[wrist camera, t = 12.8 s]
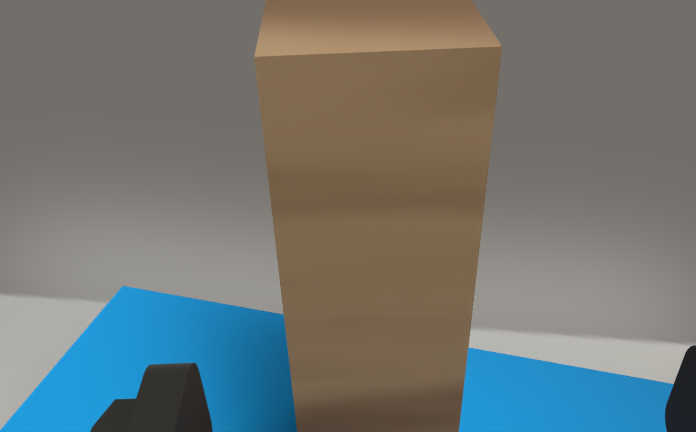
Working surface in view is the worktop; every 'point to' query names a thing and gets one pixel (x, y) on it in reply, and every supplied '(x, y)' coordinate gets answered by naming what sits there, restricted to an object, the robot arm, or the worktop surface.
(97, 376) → the book
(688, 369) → the robot arm
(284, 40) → the tall wooden block
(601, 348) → the worktop surface
